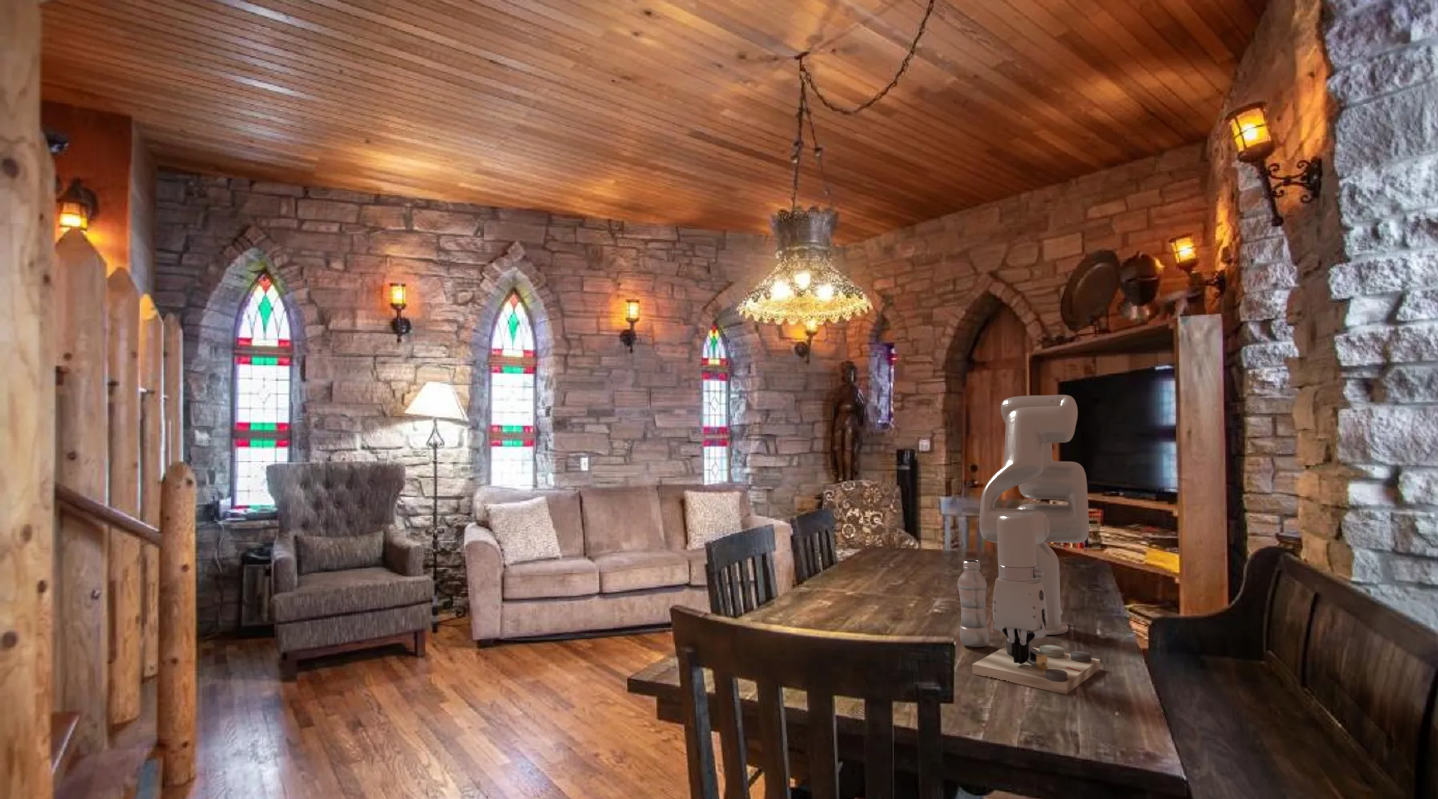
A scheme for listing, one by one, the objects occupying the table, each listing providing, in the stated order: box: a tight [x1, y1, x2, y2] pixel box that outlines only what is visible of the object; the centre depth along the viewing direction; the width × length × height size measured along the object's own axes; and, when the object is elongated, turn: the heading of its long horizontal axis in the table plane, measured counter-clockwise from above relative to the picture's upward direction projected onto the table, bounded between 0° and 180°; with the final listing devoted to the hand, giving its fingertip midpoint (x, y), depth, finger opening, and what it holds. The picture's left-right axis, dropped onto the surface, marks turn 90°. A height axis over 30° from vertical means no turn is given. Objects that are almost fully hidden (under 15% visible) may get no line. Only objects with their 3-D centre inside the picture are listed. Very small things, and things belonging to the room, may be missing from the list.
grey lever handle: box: [1005, 635, 1048, 670], centre depth 162 cm, size 15×5×3 cm, turn 1°
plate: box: [971, 644, 1101, 695], centre depth 161 cm, size 20×19×3 cm
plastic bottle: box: [957, 559, 990, 648], centre depth 181 cm, size 6×7×20 cm
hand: (1020, 661), depth 159 cm, fingers closed
